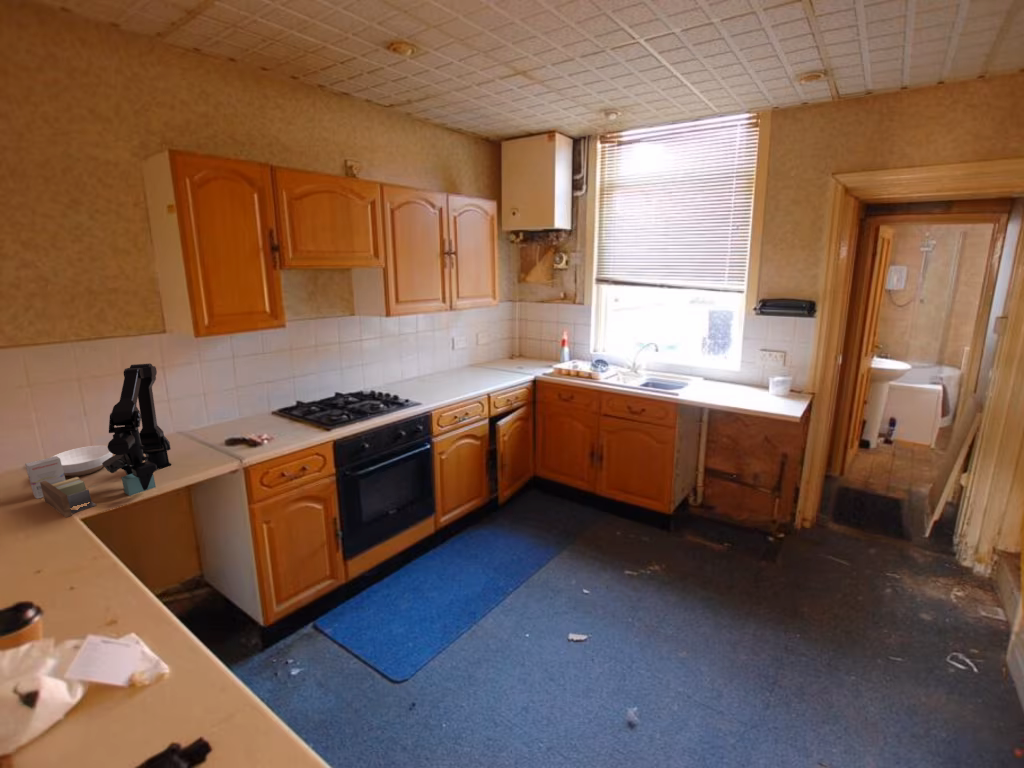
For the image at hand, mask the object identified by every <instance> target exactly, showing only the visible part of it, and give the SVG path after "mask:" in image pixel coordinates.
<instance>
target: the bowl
mask: <svg viewBox="0 0 1024 768" xmlns="http://www.w3.org/2000/svg"><path fill="white" fill-rule="evenodd" d="M54 456H57V457H59V458H60V460H61V464H62V468H63V472H64V476H65V477H66V476H67V477H80V476H85V475H89V474H93V473H95V472H98V471H100V470H101V469H102V468H103V467H104V466H103V464H102V463H103V462H104V461H106V460H108V459H109V458H111V457H112V456H114V454H112V453H111V452H110V451H109V450H108V445H90V446H83V447H77V448H73V449H69V450H65V451H62V452H60V453H57V454H55V455H52V456H51V457H54Z"/></svg>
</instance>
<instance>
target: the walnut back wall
mask: <svg viewBox="0 0 1024 768" xmlns="http://www.w3.org/2000/svg"><path fill="white" fill-rule="evenodd" d="M40 485H41V488H42V492H43V496H44V497H43V499H44V503H46V504H47V505H48V506H50V508H51V507H52V508H53V509H54V510H56V512H58V514H60V515H62V516H63V517H65V518H69V517H72V516H73V514H71V510H70V506H69V502H68V498H67V495H66V494H64V493H63V492H62V491H60V490H59V489H57V488H56V487H54V486H53V485H51V484H50V483H48V482H47V481H43V482H40Z"/></svg>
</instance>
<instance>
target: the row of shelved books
mask: <svg viewBox="0 0 1024 768" xmlns="http://www.w3.org/2000/svg"><path fill="white" fill-rule="evenodd" d="M51 485H53V486H54V487H56V488H57V489H59V490H60V491H62V492H63V493H64V494H66V495H67V496H68V495H71V494H75V493H78V492H81V491H84V490H87V488H86V483H85V481H84V480H81V478H80V477H79V476H74V477H72V478H69V479H65V481H62V482H58V483H55V484H51Z"/></svg>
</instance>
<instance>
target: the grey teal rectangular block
mask: <svg viewBox="0 0 1024 768" xmlns="http://www.w3.org/2000/svg"><path fill="white" fill-rule="evenodd" d="M155 481H156V480H155V476H154V474H153V475H152V477H151V480H150V483H149V486H148V488H147V489H146V490H143V488H142V486H141V484H140V481H139V479H138V477H136V476H134V475H132V474H130V475H127V474H126V475H124V476H121V482H122V487H123V491H124V494H126V495H128V496H129V497H131V496H134V495H137V494H140V493H143V492H146V491H149V490H152V489H154V488H155V489H156V487H157V486H156V482H155Z"/></svg>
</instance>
